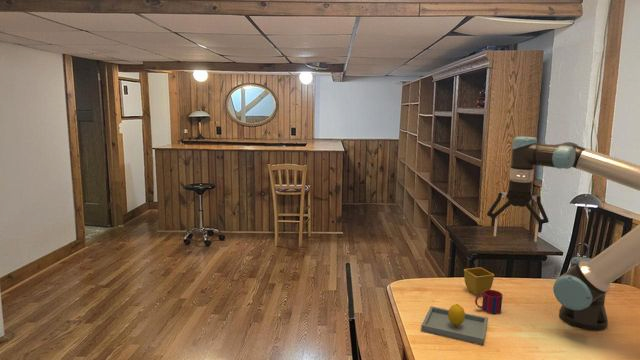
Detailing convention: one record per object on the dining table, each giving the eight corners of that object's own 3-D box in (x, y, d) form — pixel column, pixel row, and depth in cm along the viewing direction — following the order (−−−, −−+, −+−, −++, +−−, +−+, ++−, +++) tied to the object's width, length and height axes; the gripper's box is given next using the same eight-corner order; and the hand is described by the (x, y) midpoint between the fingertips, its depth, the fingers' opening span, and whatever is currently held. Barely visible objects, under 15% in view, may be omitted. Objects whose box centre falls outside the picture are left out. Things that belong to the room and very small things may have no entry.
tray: (487, 323, 159) (487, 317, 159) (483, 345, 145) (483, 339, 144) (430, 311, 167) (430, 306, 167) (421, 331, 153) (421, 325, 153)
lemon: (451, 320, 160) (453, 299, 158) (466, 325, 156) (468, 304, 155) (444, 325, 156) (446, 304, 154) (459, 331, 152) (461, 309, 151)
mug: (503, 314, 166) (505, 297, 165) (477, 314, 166) (478, 297, 165) (496, 306, 173) (498, 289, 172) (470, 306, 173) (472, 289, 171)
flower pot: (461, 289, 188) (463, 268, 186) (479, 287, 190) (481, 267, 189) (474, 298, 180) (476, 276, 178) (493, 295, 182) (495, 274, 181)
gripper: (482, 178, 161) (477, 235, 165) (561, 185, 151) (553, 246, 155) (484, 175, 168) (479, 230, 172) (559, 182, 158) (552, 240, 162)
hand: (514, 238), depth 163 cm, fingers open, 13 cm apart
